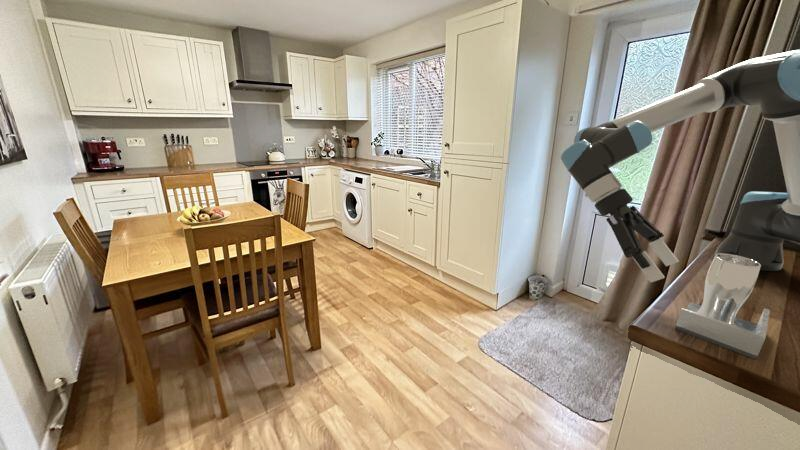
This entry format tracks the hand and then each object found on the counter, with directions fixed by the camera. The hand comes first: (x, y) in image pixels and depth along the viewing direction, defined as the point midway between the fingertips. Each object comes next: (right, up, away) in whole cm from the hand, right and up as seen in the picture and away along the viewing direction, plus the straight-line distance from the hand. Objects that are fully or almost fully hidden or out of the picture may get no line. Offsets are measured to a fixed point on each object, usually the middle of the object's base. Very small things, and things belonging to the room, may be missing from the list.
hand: (665, 271), depth 73 cm
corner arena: (+7, -12, -5) cm, 14 cm away
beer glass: (+6, -11, -5) cm, 13 cm away
